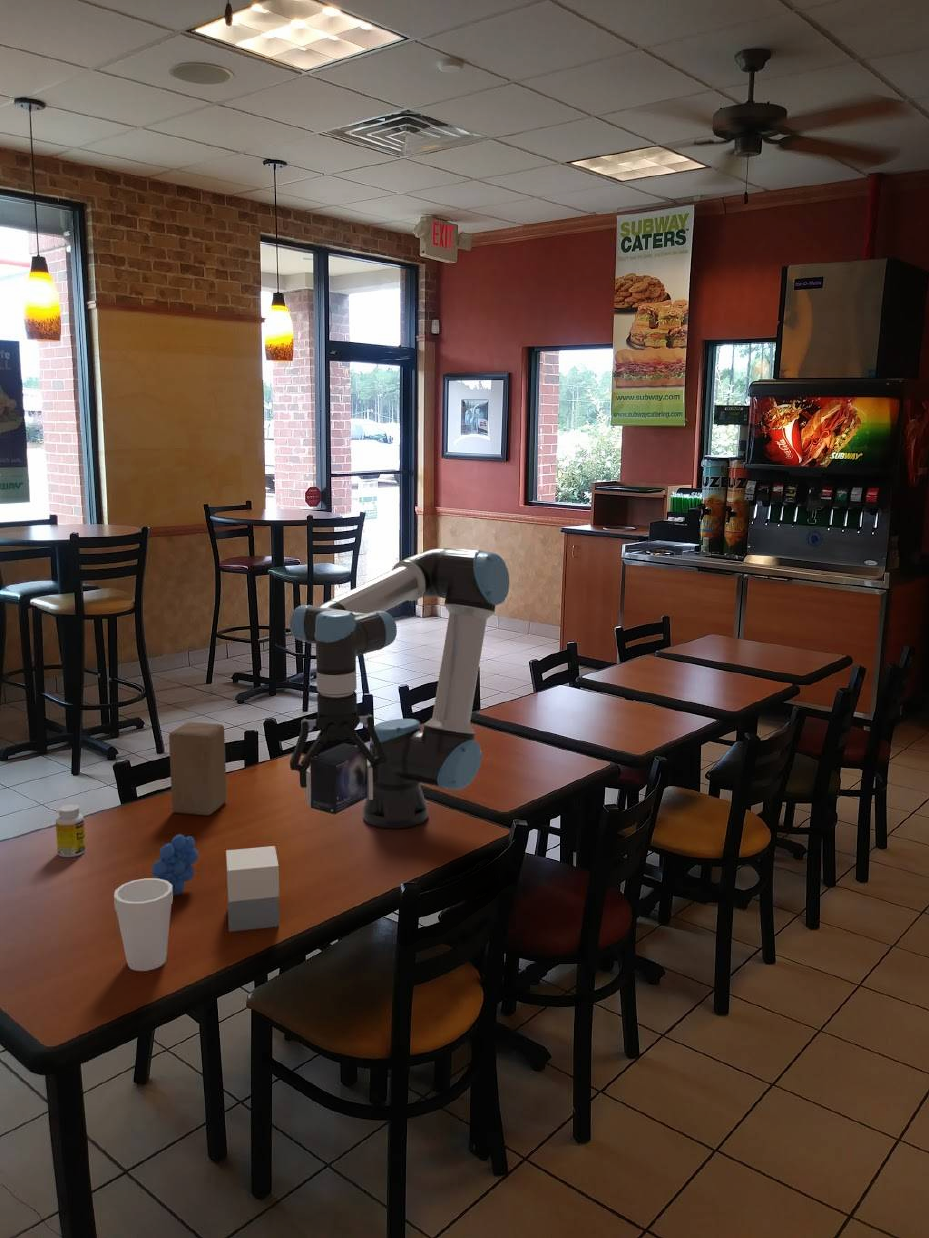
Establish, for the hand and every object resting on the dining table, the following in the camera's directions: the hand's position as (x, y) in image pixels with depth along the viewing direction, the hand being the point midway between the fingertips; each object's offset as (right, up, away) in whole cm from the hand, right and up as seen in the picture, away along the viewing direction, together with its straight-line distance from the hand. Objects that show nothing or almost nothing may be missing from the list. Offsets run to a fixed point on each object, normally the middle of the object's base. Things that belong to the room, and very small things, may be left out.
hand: (339, 799), depth 193 cm
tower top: (-15, -15, -9) cm, 23 cm away
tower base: (-15, -21, -8) cm, 27 cm away
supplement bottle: (-60, -15, +19) cm, 64 cm away
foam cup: (-30, -23, -24) cm, 45 cm away
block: (-39, -10, +45) cm, 60 cm away
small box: (0, -1, 0) cm, 1 cm away
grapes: (-33, -19, +1) cm, 38 cm away
